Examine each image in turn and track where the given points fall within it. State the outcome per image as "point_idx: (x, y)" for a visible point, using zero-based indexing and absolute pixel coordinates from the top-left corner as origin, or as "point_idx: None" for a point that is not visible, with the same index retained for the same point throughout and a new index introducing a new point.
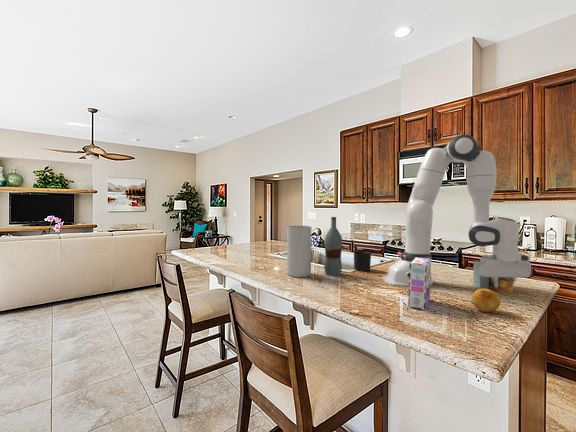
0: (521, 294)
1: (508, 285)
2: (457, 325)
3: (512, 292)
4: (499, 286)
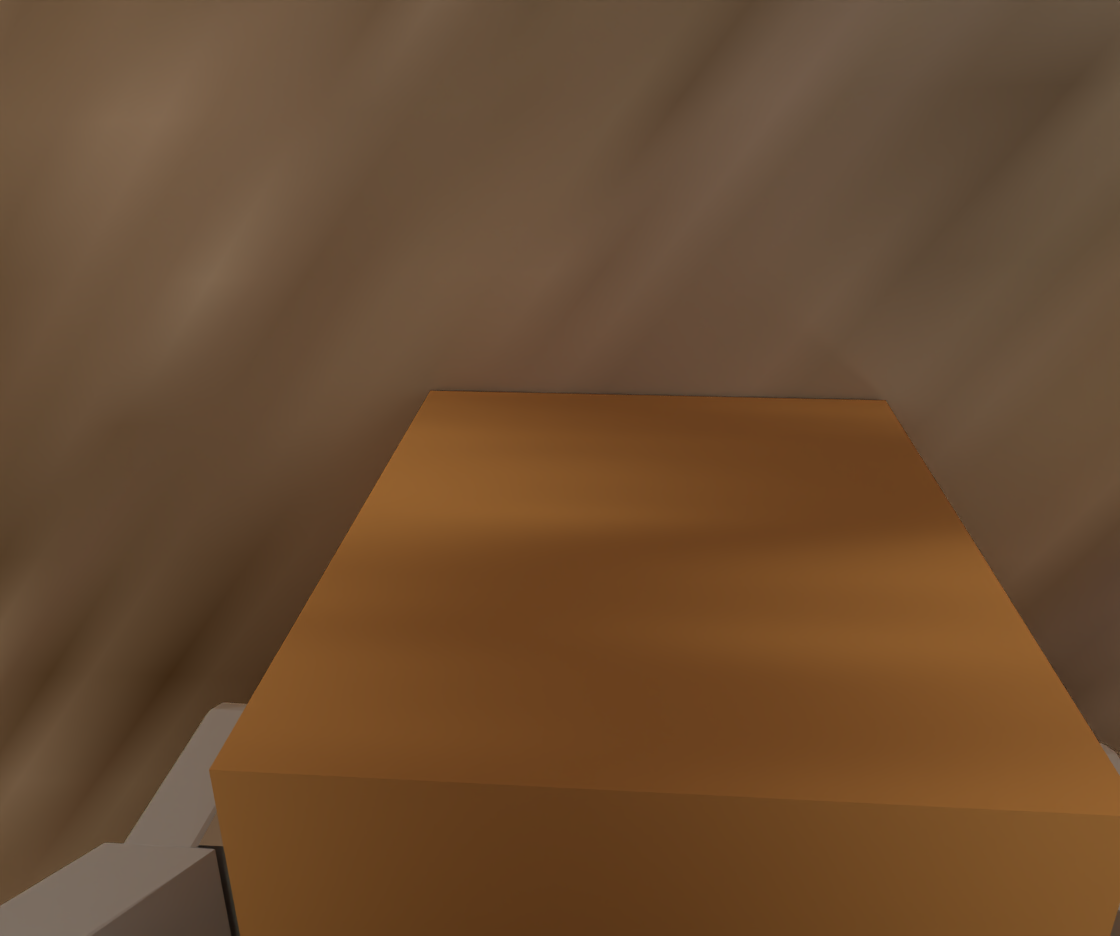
0: (113, 253)
1: (655, 591)
2: None
3: (435, 410)
4: None
